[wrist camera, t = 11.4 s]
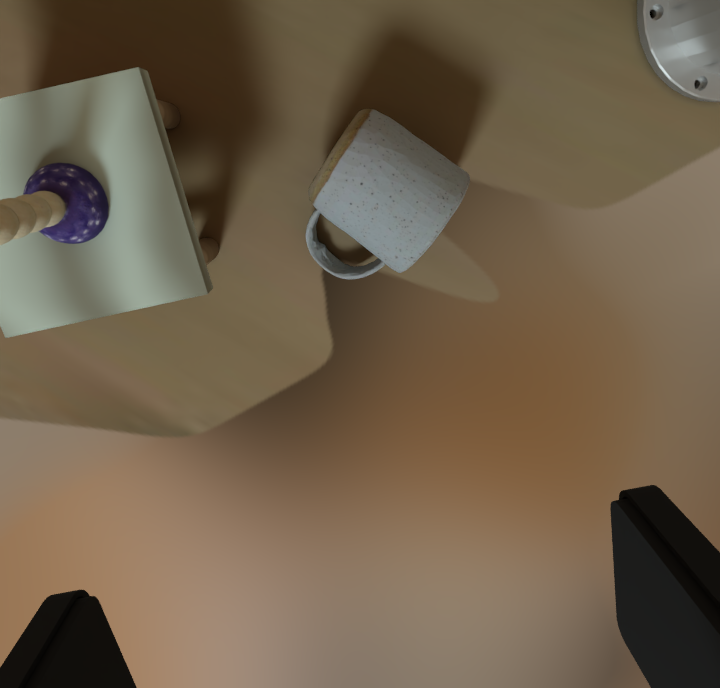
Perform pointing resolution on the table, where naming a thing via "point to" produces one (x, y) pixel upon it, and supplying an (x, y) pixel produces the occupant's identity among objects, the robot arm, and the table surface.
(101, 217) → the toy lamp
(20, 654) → the robot arm
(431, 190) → the ceramic mug
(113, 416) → the table surface
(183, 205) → the footstool
